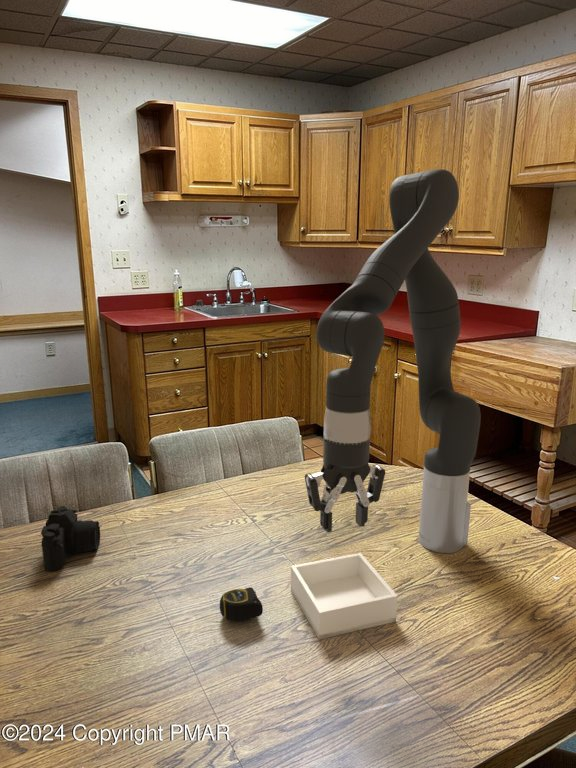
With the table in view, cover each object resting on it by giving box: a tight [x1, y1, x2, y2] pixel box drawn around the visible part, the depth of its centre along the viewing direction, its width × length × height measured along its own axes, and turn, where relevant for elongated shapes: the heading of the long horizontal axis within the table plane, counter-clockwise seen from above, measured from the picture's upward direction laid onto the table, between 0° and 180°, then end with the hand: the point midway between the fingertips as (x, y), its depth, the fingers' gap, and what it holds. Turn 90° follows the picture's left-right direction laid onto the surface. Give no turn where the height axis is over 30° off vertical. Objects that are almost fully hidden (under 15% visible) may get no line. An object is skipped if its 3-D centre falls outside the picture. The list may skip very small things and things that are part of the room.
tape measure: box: [219, 587, 264, 623], centre depth 97 cm, size 7×7×4 cm
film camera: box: [40, 505, 101, 573], centre depth 116 cm, size 15×10×9 cm, turn 8°
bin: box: [290, 552, 398, 640], centre depth 100 cm, size 14×14×5 cm
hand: (343, 526), depth 97 cm, fingers open, 5 cm apart
